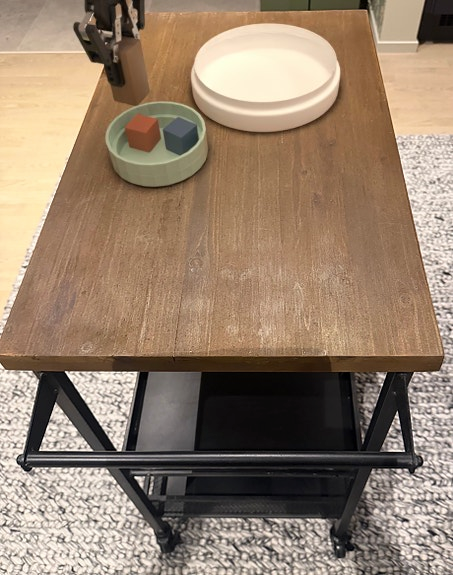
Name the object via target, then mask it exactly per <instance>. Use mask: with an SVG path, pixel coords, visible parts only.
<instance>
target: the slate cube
mask: <svg viewBox="0 0 453 575" xmlns="http://www.w3.org/2000/svg"><path fill="white" fill-rule="evenodd" d="M163 135H164V140H165V146H166V149H167V150H169V151H171V152H173V153H175V154H177V155H179V156H181V155H183V154H184V153H186V152H188V151H189V150H190V149H191V148H193V147H194V146H195V145H196V144H197V142H198V141H199V138H198V129H197V125H196V124H194V123H192V122H189V121H187V120H185V119H183V118H180V117H177V118H176V119H175V120H173V121H172V122H171V123H170V124H169V125H167V126H166V127H165V128H164V129H163Z"/></svg>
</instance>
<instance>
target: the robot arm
mask: <svg viewBox="0 0 453 575" xmlns="http://www.w3.org/2000/svg"><path fill="white" fill-rule="evenodd" d="M83 5H84V13H85V15H84V17H83V19H82V21H81V22H79V21H74V23H73V25H72V28H73V32H74V34H75V36H76V37H77V40H78V41H79V43H80V45H81V47H82V48H83V50H84V52H85V54H86V55H87V58H88V60H89V61H90V63H93V64H101V65H103V68H104V71H105V76H106V80H107V82H108V84H109V85H112V86H116V87H123V86H124V85H125V78H124V74H123V69H122V65H121V60H120V59H119V46H118V43H119V42H121V36H126V37H131V38H136V39H140V37H141V35H140V31H141V30H143V31H144V30H145V28H146V15H145V12H146V9H145V8H146V6H145V0H84V4H83ZM135 10H136V12H135ZM104 32H108V33H104ZM109 32H110V33H111V34H110V33H109ZM107 43H109V44H110V49H111V51H108V50H107V48H106V46H105V45H106V44H107Z"/></svg>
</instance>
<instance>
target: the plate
mask: <svg viewBox="0 0 453 575" xmlns="http://www.w3.org/2000/svg"><path fill="white" fill-rule="evenodd" d="M340 66H341V65H340V63H339V61H338V58H337V54H336V51H335V49H334V47H333V46H332V45H331V44H330V42H329V41H328V40H326V39H325V38H324V37H323V36H321V35H319V34H318V33H315V32H313V31H312V30H309V29H307V28H303V27H300V26H296V25H291V24H285V23H254V24H246V25H242V26H237V27H234V28H230V29H228V30H225V31H223V32H221V33H218V34H216V35H215V36H213V37H211V38H210V39H209V40H207V42H205V43H204V44H203V45H201V47H200V49H199V50H198V51H197V53H196V54H195V58H194V63H193V65H192V68H191V72H190V83H191V90H192V91H191V92H192V97H193V100H194V102H195V104H196V106H197V107H198V109H199V110H200V111H201V112H202V114H204V115H205V116H206V117H207V118H209V119H211V120H212V121H213V122H215V123H218V124H220V125H222V126H225V127H227V128H229V129H230V128H231V129H233V130H239V131H244V132H251V133H276V132H282V131H288V130H292V129H296V128H299V127H302V126H304V125H307V124H309V123H311V122H313V121H315V120H317V119H318V118H320V117H321V116H323V115H324V114H326V112H327V111H328V110H330V108H331V107H332V106H333V105H334V103H335V101H336V99H337V96H338V94H339V88H340V80H341V67H340Z"/></svg>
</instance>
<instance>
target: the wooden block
mask: <svg viewBox="0 0 453 575" xmlns="http://www.w3.org/2000/svg"><path fill="white" fill-rule="evenodd" d="M142 45H143V44H142V40H141V39H140V38H139V39H136V38H131V37H126V36H121V42H119V43H118V46H119V59H120V60H121V65H122V69H123V74H124V78H125V85H124V86H123V87H116V86H112V85H110V84H109V85H110V89H111V94H112V97H113V100H114V102H117V103H121V104H125V105H130V106H133V107H135V106H138V105H141V104H142V102H143V101H144V100H145V99H146V97H147V96H148V95H149V94H150V92H151V89H150V84H149V83H150V82H149V79H148V73H147V67H146V61H145V56H144V50H143V46H142ZM105 46H106V48H107V50H108V51H111V49H110V44H109V43H105Z"/></svg>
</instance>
